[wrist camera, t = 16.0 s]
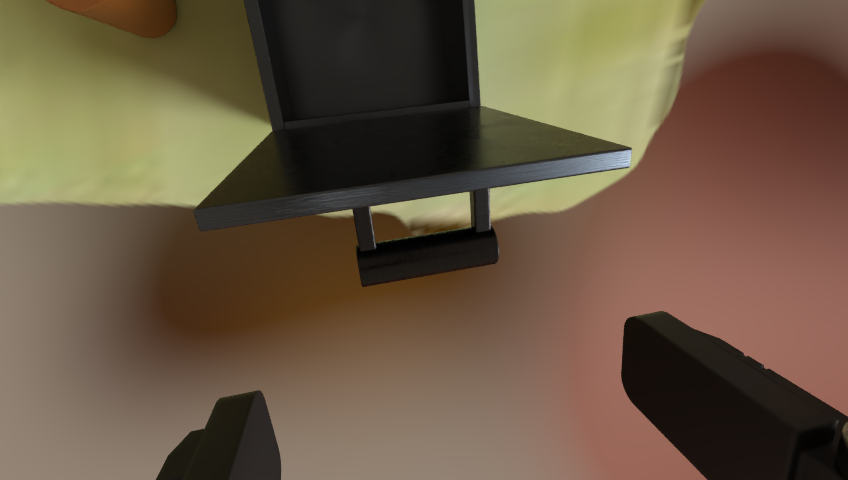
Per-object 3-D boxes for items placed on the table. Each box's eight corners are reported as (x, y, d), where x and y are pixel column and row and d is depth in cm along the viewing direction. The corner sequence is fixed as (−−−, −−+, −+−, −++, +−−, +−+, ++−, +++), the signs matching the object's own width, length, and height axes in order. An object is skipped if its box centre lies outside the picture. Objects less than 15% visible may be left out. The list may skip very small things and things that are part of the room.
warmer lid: (191, 210, 13) (234, 335, 15) (633, 147, 16) (619, 264, 18) (271, 131, 29) (287, 197, 31) (482, 105, 32) (484, 169, 34)
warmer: (240, -92, 32) (209, -152, 25) (438, -101, 34) (464, -159, 27) (287, 130, 37) (273, 136, 30) (455, 110, 40) (481, 110, 32)
